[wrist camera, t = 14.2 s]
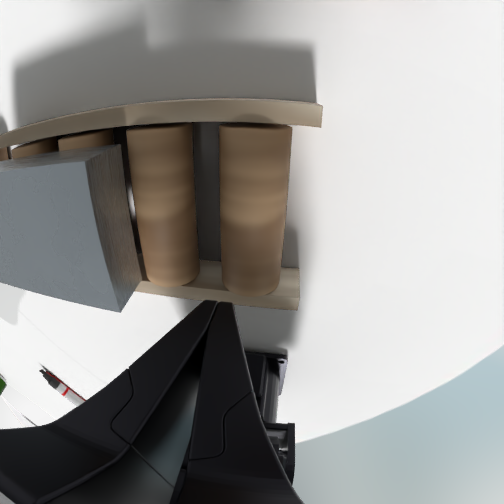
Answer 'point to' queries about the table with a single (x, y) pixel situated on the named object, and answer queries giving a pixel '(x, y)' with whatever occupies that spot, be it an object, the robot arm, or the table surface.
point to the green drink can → (2, 384)
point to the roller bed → (183, 190)
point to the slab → (68, 227)
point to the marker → (62, 388)
